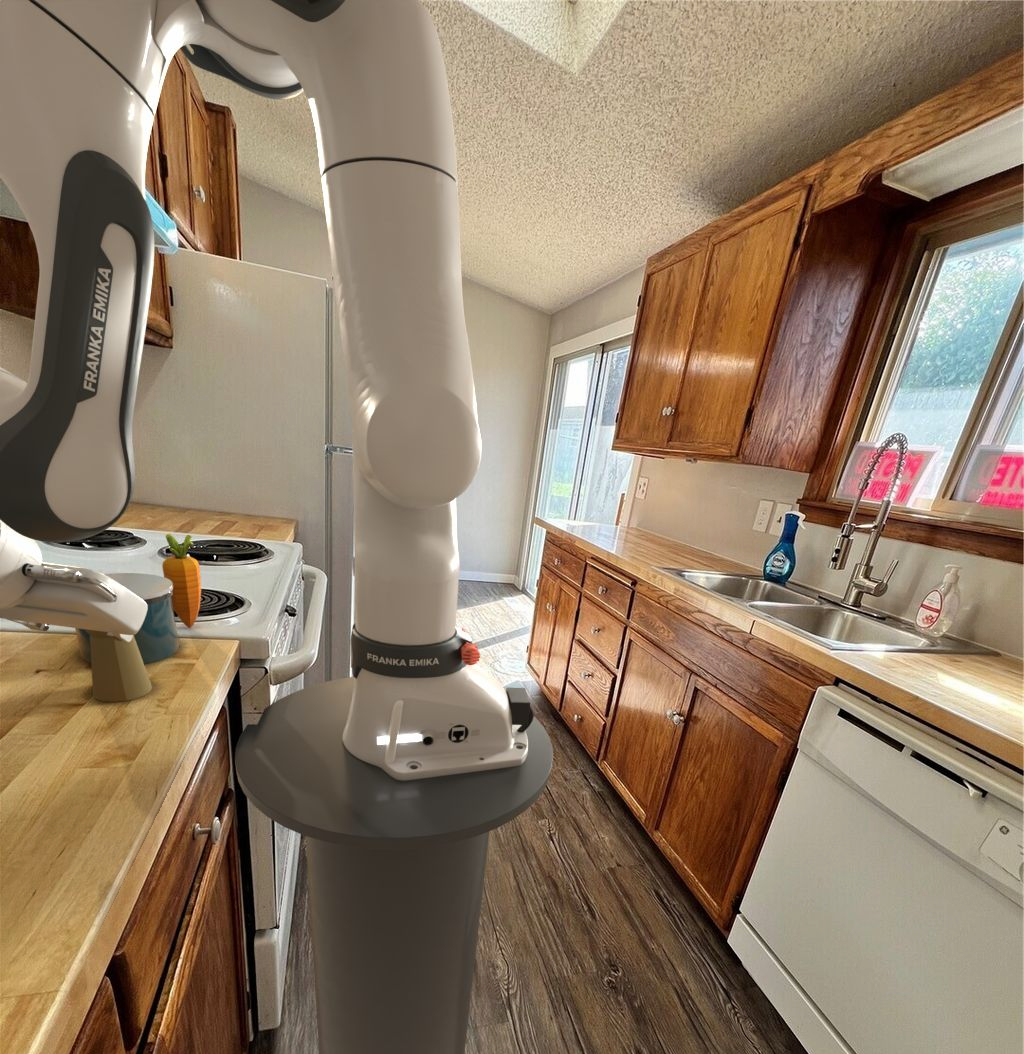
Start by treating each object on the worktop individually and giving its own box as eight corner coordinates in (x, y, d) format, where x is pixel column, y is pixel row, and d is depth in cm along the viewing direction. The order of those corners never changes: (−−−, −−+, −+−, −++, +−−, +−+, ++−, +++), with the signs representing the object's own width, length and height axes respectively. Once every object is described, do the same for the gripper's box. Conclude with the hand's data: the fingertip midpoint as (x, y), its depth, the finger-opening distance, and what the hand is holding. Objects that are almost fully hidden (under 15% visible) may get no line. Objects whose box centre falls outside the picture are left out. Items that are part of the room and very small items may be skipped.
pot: (194, 636, 86) (185, 575, 82) (163, 668, 75) (152, 600, 71) (103, 633, 83) (90, 570, 79) (58, 666, 72) (40, 595, 68)
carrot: (203, 620, 92) (191, 529, 86) (210, 630, 89) (198, 535, 82) (168, 624, 89) (153, 530, 83) (175, 634, 86) (160, 536, 79)
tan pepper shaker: (100, 681, 70) (81, 597, 65) (156, 679, 72) (141, 597, 67) (86, 703, 65) (65, 613, 60) (146, 700, 67) (130, 613, 62)
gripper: (104, 545, 49) (186, 616, 62) (-117, 517, 50) (10, 594, 63) (75, 607, 47) (166, 668, 60) (-156, 577, 48) (-16, 644, 60)
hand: (85, 630), depth 61 cm, fingers open, 8 cm apart
